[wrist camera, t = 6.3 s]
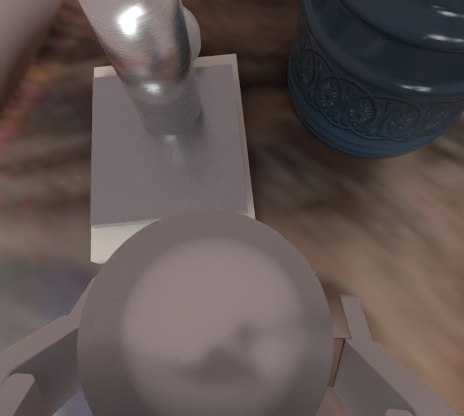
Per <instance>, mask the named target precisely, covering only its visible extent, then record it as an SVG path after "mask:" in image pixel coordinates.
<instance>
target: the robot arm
mask: <svg viewBox="0 0 464 416" xmlns="http://www.w3.org/2000/svg"><path fill="white" fill-rule="evenodd" d="M95 278H96V277H94V278H93V279H92V280H91V282H90V283H89V285H88V286H87V288H86V289H85V291H84V292H83V294H82V295H81V297H80V298H79V300H78V301H77V303H76V304H75V306H74V308H73V309H72V311H71V312H70V314H69V315H68V316H61V317H59V318H58V319H56V320H54V321H53V322H51V323H49V324H47V325H46V326H44V327H42V328H41V329H39V330H37V331H35V332H34V333H32V334H30V335H29V336H27V337H25V338H23V339H22V340H20V341H18V342H17V343H15V344H13V345H12V346H10V347H8V348H6V349H5V350H3V351H1V352H0V416H52V415H53V414H54V413H55V412H56V411H57V410H58V409H59V408H61V407H62V406H63V405H64V404H65V403H66V402H67V401H68V400H69V399H70V398H72V397H73V396H74V395H75V394H76V393H77V392H78V391H79V390H80V389H81V388H82V384H81V380H80V374H79V368H78V358H77V340H78V328H79V323H80V318H81V313H82V309H83V306H84V303H85V300H86V297H87V294H88V292H89V290H90V288H91V286H92V284H93V282H94V280H95ZM325 297H326V300H327V302H328V306H329V311H330V315H331V319H332V328H333V360H332V367H331V374H330V377H329V381H328V385H327V387H333V390H334V391H335V393H336V394H337V395H338V397H339V398H340V400H341V401H342V402H343V404H344V405H345V407H346V408H347V409H348V411H349V412H350V414H351V415H352V416H459V414H458V413H457V412H455V411H454V410H453V409H452V408H451V407H450V406H449V405H448V404H447V403H445V402H444V401H443V400H442V399H441V398H440V397H439V396H438V395H437V394H436V393H434V392H433V391H432V390H431V389H430V388H429V387H428V386H427V385H426V384H425V383H423V382H422V381H421V380H420V379H419V378H418V377H417V376H416V375H415V374H413V373H412V372H411V371H410V370H409V369H408V368H407V367H406V366H405V365H404V364H402V363H401V362H400V361H399V360H398V359H397V358H396V357H395V356H394V355H392V354H391V353H390V352H389V351H388V350H387V349H386V348H385V347H384V346H383V345H381V344H380V343H379V342H374V341H373V340H372V337H371V334H370V331H369V328H368V324H367V321H366V318H365V315H364V312H363V309H362V306H361V303H360V300H359V298H358V296H357V295H341V294H338V295H336V294H325Z"/></svg>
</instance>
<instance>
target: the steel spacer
mask: <svg viewBox="0 0 464 416" xmlns="http://www.w3.org/2000/svg"><path fill="white" fill-rule="evenodd" d="M77 358H78V368H79V374H80V380H81V384H82V387H83V391H84V394H85V398H86V400H87V402H88V405H89V407H90V409H91V411H92V414H93V416H314V415H315V414H316V412H317V410H318V408H319V406H320V404H321V401H322V399H323V397H324V394H325V392H326V388H327V385H328V381H329V377H330V374H331V367H332V360H333V328H332V319H331V315H330V311H329V306H328V302H327V300H326V297H325V294H324V291H323V289H322V286H321V284H320V282H319V280H318V278H317V276H316V274H315V272H314V271H313V269H312V268H311V266H310V265H309V263H308V262H307V260H306V259H305V258H304V256H303V255H302V254H301V253H300V252H299V251H298V250H297V249H296V247H295V246H294V245H293V244H292V243H290V242H289V241H288V240H287V239H286V238H285V237H284V236H282V235H281V234H280V233H278V232H277V231H275V230H274V229H272V228H271V227H269V226H268V225H266V224H264V223H262V222H260V221H258V220H256V219H253V218H250V217H248V216H245V215H242V214H238V213H234V212H229V211H223V210H211V209H208V210H192V211H186V212H181V213H177V214H174V215H170V216H167V217H164V218H162V219H160V220H157V221H155V222H153V223H151V224H149V225H147V226H146V227H144V228H142V229H141V230H139V231H137V232H136V233H135V234H134V235H132V236H131V237H130V238H128V239H127V240H126V241H125V242H124V243H123V244H122V245H121V246H120V247H119V248H118V249H117V250H115V251H114V253H113V254H112V255H111V256H110V258H109V259H108V260H107V261H106V263H105V264H104V265H103V267H102V268H101V270H100V271H99V273H98V275H97V276H96V278H95V280H94V282H93V284H92V286H91V288H90V290H89V292H88V294H87V297H86V300H85V303H84V306H83V309H82V313H81V318H80V323H79V328H78V340H77Z"/></svg>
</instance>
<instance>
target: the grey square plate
mask: <svg viewBox="0 0 464 416" xmlns="http://www.w3.org/2000/svg"><path fill="white" fill-rule="evenodd" d="M195 74H196V79H197V84H198V89H199V94H200V99H201V111H200V115H199V117H198V119H197V120H196V122H195V123H194V124H193V125H192V126H191V127H190V128H188V129H187V130H185V131H184V132H181V133H178V134H174V135H161V134H157V133H154V132H152V131H151V130H149V129H148V128H147V127H145V125H144V124H143V123H142V121H141V120H140V118H139V116H138V114H137V112H136V110H135V108H134V106H133V104H132V102H131V100H130V98H129V97H128V95H127V93H126V91H125V89H124V87H123V85H122V83H121V81H120V79H119V77H118V75H113V76H103V77H93V107H92V161H91V216H90V226H92V227H94V228H105V227H115V226H126V225H136V224H146V223H153V222H155V221H157V220H160V219H162V218H164V217H167V216H170V215H174V214H177V213H181V212H186V211H192V210H208V209H211V210H223V211H229V212H234V213H238V214H248V208H247V199H246V190H245V181H244V172H243V163H242V154H241V145H240V136H239V127H238V118H237V109H236V100H235V91H234V82H233V73H232V64H226V65H216V66H206V67H195Z"/></svg>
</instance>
